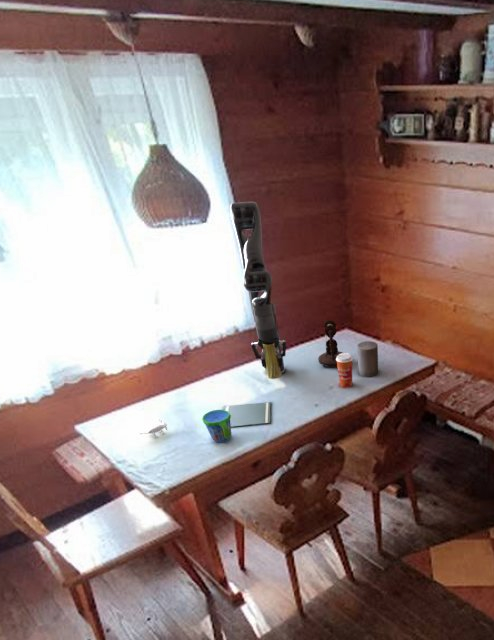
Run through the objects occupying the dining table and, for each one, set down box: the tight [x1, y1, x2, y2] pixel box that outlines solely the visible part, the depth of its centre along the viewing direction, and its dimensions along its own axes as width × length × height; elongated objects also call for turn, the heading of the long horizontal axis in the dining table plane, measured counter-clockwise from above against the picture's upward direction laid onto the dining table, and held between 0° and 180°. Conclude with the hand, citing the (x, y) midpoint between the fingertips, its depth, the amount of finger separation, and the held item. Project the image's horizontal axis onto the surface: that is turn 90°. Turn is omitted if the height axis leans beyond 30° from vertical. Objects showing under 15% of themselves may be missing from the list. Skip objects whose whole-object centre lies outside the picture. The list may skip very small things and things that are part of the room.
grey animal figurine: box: [139, 419, 169, 438], centre depth 206 cm, size 12×5×5 cm, turn 141°
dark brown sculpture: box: [317, 319, 344, 368], centre depth 250 cm, size 15×15×20 cm
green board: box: [223, 401, 272, 428], centre depth 218 cm, size 18×20×1 cm
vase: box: [263, 343, 283, 380], centre depth 207 cm, size 6×6×14 cm
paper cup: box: [336, 352, 354, 389], centre depth 233 cm, size 8×8×14 cm
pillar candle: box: [356, 340, 380, 378], centre depth 242 cm, size 10×10×15 cm
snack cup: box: [201, 409, 232, 443], centre depth 201 cm, size 16×10×10 cm
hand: (272, 366), depth 209 cm, fingers closed on vase, 5 cm apart
